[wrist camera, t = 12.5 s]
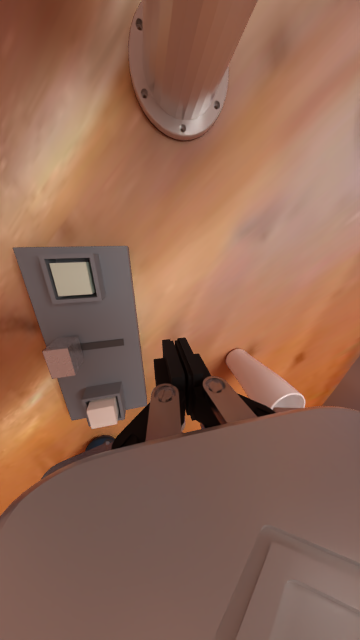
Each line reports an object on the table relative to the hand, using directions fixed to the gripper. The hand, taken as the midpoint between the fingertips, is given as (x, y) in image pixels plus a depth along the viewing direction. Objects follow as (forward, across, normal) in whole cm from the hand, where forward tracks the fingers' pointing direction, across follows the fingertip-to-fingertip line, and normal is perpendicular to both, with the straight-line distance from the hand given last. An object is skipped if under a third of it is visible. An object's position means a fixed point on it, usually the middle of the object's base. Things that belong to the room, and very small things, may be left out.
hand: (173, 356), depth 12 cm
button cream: (+14, +10, +18) cm, 25 cm away
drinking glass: (+19, -18, +16) cm, 31 cm away
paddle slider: (+16, +14, +7) cm, 22 cm away
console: (+19, +10, +8) cm, 23 cm away
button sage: (+17, +11, -4) cm, 20 cm away
